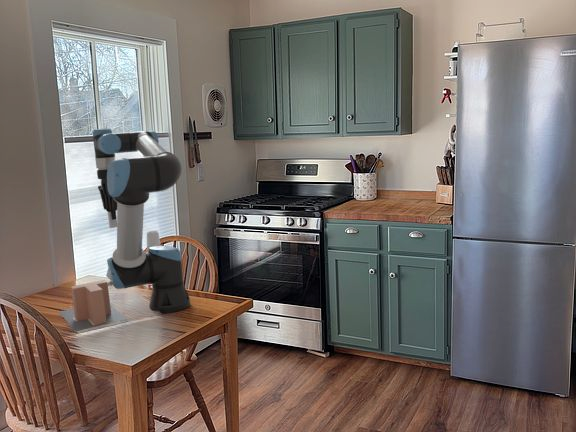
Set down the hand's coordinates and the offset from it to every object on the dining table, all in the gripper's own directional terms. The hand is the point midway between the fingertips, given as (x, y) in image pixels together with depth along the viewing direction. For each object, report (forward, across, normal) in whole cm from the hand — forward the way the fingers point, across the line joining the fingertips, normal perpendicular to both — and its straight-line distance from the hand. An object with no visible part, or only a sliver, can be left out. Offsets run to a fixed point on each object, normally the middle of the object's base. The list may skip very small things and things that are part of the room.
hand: (113, 227), depth 231 cm
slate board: (+29, -13, +20) cm, 38 cm away
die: (+30, +27, -14) cm, 42 cm away
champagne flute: (+30, +2, -19) cm, 35 cm away
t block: (+28, -19, +21) cm, 40 cm away
